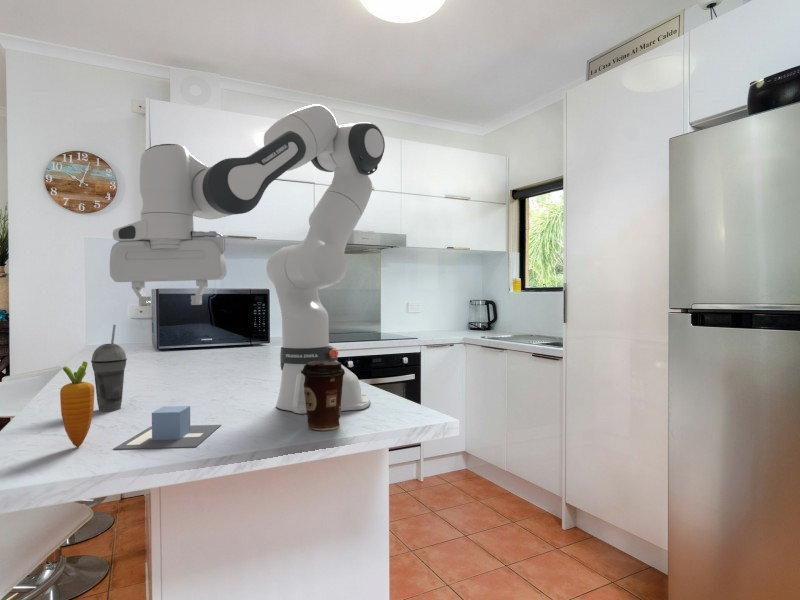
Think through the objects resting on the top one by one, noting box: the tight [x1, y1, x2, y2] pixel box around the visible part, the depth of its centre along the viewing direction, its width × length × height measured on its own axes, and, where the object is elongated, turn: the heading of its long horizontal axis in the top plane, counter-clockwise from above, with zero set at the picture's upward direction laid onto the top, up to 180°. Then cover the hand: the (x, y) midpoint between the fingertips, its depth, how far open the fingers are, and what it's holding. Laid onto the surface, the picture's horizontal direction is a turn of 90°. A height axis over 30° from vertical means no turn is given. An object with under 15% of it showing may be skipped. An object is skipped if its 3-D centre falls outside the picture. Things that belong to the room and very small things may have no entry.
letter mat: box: [112, 424, 222, 451], centre depth 89 cm, size 14×14×1 cm
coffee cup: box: [301, 361, 345, 432], centre depth 95 cm, size 9×8×13 cm
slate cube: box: [151, 405, 191, 440], centre depth 89 cm, size 5×5×5 cm
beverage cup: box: [90, 324, 128, 413], centre depth 111 cm, size 7×7×20 cm
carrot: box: [59, 360, 95, 448], centre depth 83 cm, size 5×5×15 cm
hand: (171, 305), depth 89 cm, fingers open, 8 cm apart
